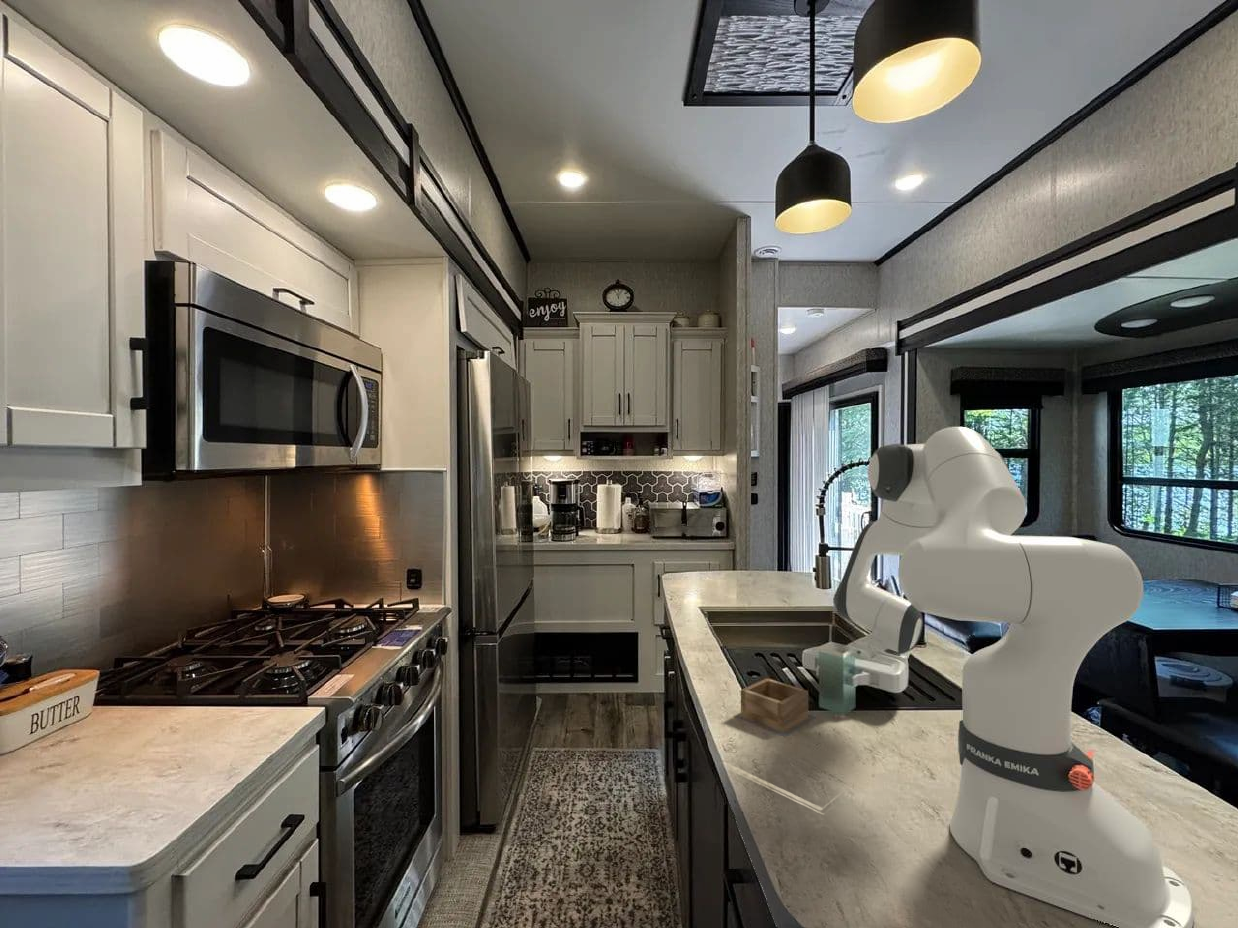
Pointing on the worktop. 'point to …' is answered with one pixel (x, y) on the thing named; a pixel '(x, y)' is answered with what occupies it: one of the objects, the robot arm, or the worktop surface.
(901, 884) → the worktop surface
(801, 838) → the worktop surface
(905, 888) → the worktop surface
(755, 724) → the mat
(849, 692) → the tea tin
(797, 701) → the open wooden box
